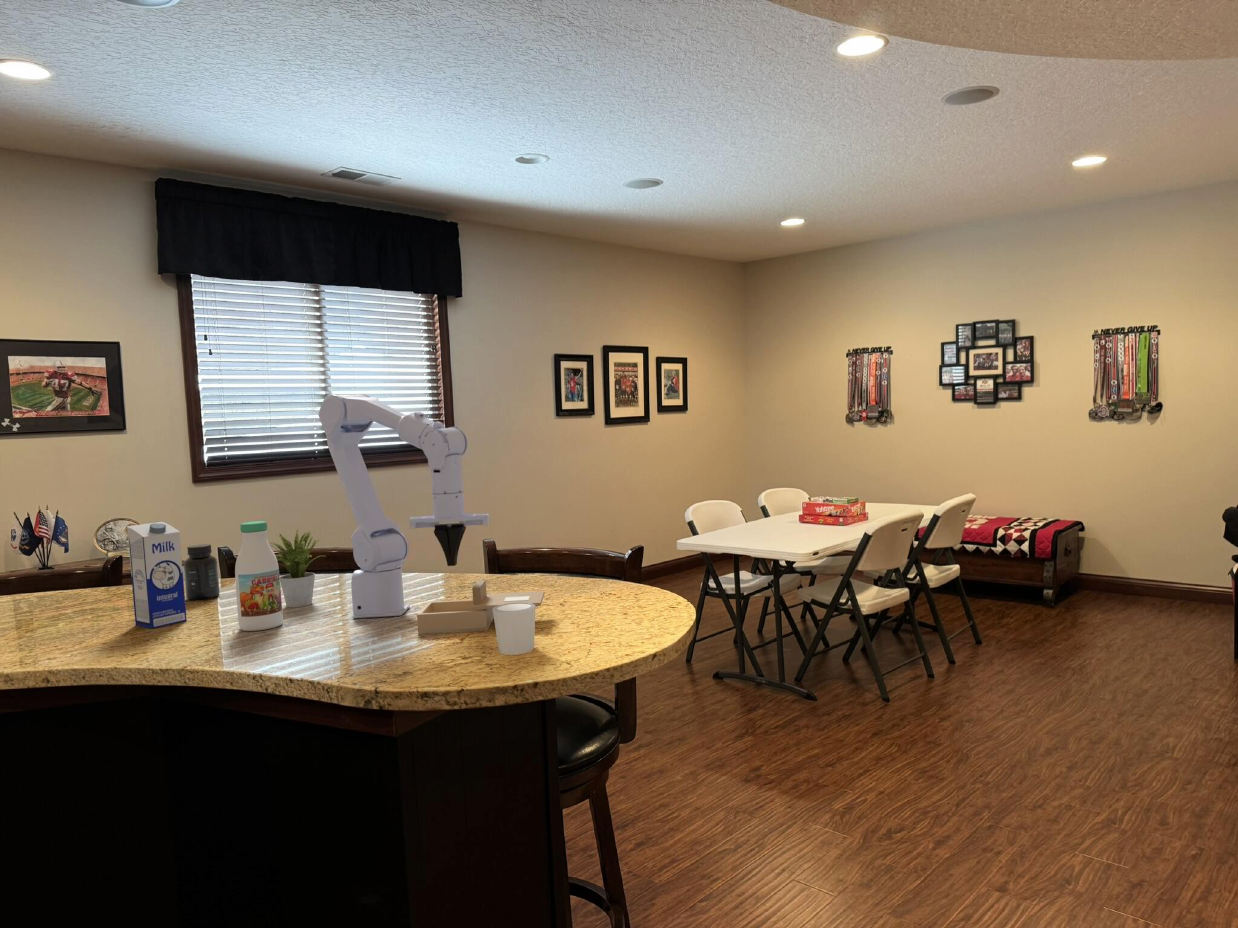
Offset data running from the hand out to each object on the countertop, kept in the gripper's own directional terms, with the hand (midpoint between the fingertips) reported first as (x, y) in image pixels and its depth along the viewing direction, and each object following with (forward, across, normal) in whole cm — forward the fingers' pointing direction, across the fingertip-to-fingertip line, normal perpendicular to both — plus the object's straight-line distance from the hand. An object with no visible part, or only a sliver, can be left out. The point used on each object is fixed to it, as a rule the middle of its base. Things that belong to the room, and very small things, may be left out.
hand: (452, 565), depth 155 cm
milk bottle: (+11, -37, +2) cm, 39 cm away
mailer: (+10, +1, -5) cm, 12 cm away
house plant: (+11, -38, +22) cm, 45 cm away
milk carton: (+11, -60, +10) cm, 62 cm away
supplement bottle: (+11, -64, +34) cm, 73 cm away
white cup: (+10, +14, -23) cm, 29 cm away
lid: (+6, +11, -5) cm, 14 cm away
